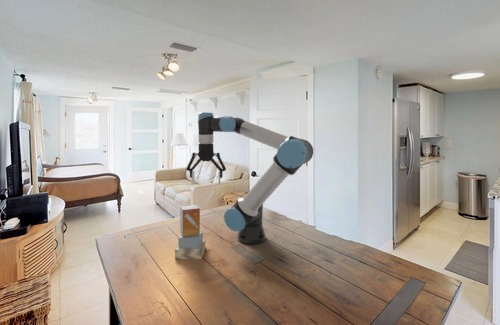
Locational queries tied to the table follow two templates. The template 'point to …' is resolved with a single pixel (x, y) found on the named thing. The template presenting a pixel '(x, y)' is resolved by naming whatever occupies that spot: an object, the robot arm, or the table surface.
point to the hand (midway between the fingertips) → (206, 184)
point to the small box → (189, 220)
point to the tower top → (190, 241)
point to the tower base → (190, 252)
